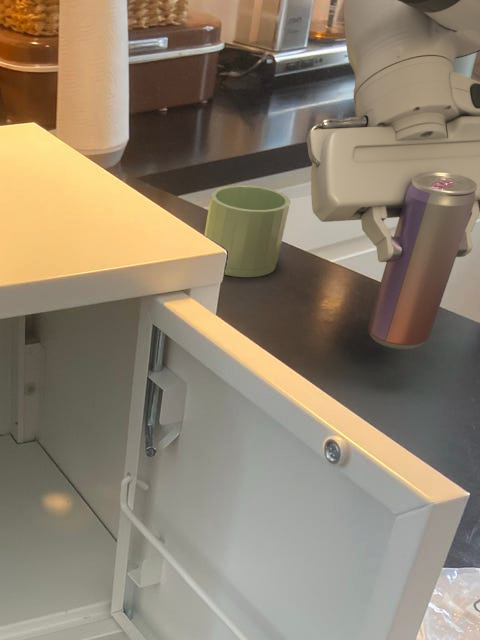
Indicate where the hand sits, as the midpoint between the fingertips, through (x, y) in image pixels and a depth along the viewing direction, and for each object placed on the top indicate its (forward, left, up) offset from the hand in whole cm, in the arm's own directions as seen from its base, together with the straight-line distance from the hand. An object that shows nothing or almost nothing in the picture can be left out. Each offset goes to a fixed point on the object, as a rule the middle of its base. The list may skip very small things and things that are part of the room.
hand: (426, 257), depth 90 cm
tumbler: (+10, -32, -13) cm, 36 cm away
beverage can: (0, -1, -9) cm, 9 cm away
